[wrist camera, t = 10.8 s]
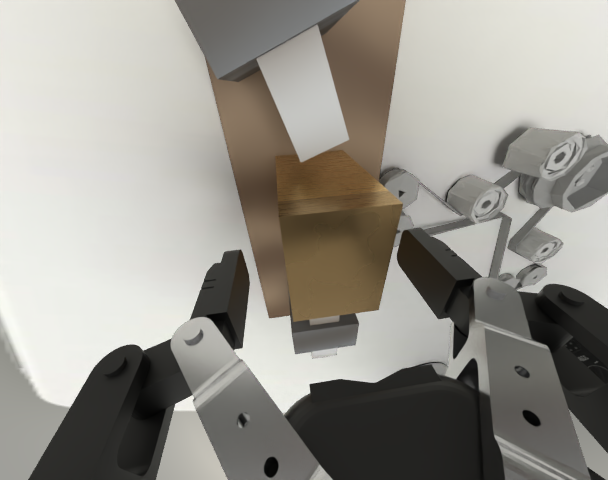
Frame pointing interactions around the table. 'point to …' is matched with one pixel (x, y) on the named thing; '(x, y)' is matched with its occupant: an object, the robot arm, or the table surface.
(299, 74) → the shaft mount
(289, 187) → the tan rectangular block
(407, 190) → the pulley system
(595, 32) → the table surface
